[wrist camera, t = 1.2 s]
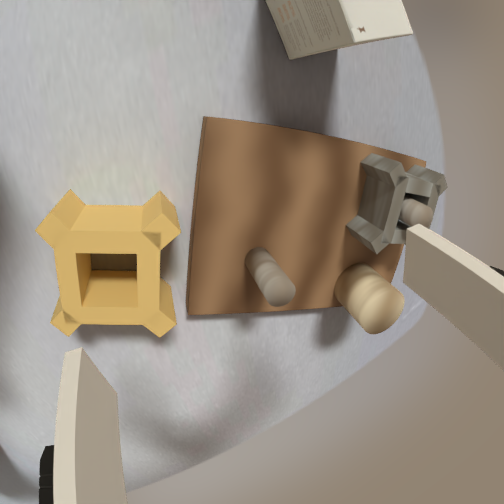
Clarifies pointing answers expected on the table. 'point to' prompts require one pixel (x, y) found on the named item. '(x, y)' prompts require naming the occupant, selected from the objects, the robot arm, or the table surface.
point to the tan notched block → (108, 281)
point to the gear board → (301, 222)
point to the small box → (336, 23)
